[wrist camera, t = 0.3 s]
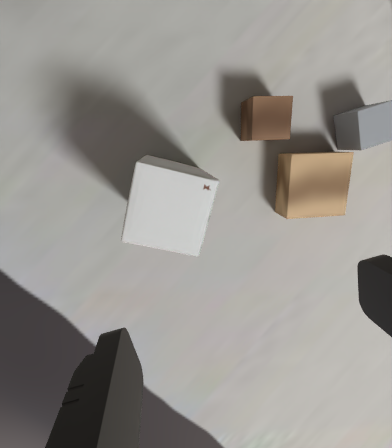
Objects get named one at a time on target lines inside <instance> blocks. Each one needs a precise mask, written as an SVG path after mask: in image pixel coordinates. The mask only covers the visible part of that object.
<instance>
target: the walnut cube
mask: <svg viewBox="0 0 392 448" xmlns="http://www.w3.org/2000/svg"><path fill="white" fill-rule="evenodd" d="M292 102H293V96H253V97H251V98H249V99H247V100H246V101H244V102H242V103H241V141H252V140H282V139H290V129H291V116H292Z"/></svg>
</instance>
